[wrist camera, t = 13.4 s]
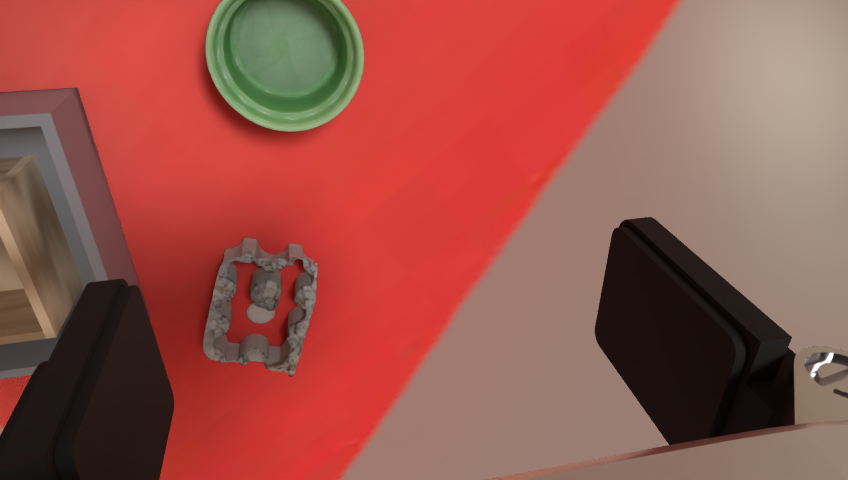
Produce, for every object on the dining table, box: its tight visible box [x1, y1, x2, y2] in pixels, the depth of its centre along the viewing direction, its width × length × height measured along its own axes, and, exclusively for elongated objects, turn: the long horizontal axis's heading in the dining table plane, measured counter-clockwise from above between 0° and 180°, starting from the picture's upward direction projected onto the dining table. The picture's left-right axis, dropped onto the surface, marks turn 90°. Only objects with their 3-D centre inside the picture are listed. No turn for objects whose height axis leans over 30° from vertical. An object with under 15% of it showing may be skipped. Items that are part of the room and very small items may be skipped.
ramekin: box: [205, 0, 364, 132], centre depth 36 cm, size 9×9×4 cm
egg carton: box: [203, 238, 318, 377], centre depth 45 cm, size 11×8×4 cm
